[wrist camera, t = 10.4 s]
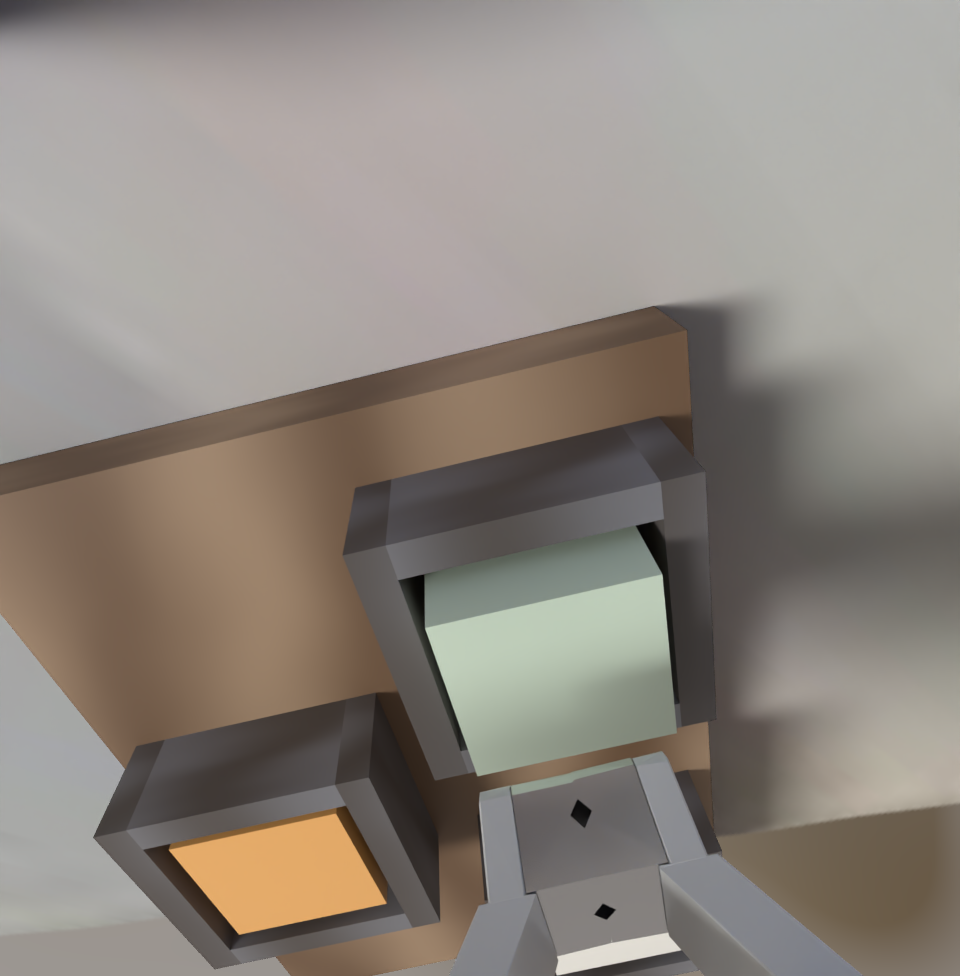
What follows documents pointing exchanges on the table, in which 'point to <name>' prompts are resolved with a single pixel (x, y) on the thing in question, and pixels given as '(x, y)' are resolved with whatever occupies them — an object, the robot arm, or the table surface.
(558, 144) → the table surface
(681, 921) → the robot arm
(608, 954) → the cream button
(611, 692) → the sage button
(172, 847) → the orange button
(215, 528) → the button panel
